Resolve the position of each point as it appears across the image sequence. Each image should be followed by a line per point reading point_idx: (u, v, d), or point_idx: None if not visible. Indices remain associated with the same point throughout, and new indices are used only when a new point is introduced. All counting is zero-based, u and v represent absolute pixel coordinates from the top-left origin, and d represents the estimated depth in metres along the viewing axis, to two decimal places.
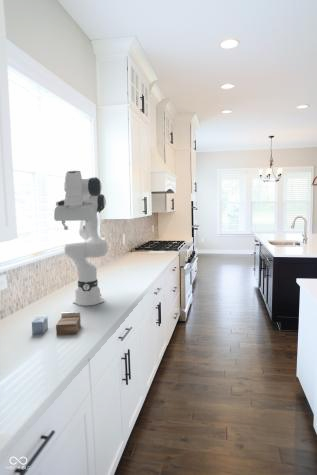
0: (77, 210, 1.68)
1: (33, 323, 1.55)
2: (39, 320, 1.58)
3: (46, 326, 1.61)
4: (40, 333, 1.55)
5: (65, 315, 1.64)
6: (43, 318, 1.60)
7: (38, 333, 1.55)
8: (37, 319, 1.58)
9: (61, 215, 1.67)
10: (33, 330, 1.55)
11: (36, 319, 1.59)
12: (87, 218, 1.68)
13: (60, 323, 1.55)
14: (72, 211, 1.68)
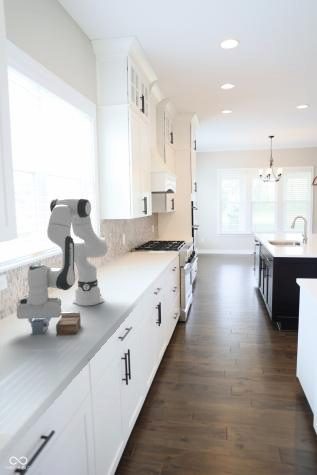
0: (41, 307, 1.56)
1: (33, 323, 1.55)
2: (39, 319, 1.57)
3: None
4: (40, 333, 1.55)
5: (65, 315, 1.64)
6: (43, 318, 1.60)
7: (38, 333, 1.55)
8: (37, 319, 1.58)
9: (24, 312, 1.56)
10: (33, 329, 1.55)
11: (36, 319, 1.59)
12: (52, 315, 1.57)
13: (60, 323, 1.55)
14: (35, 308, 1.56)
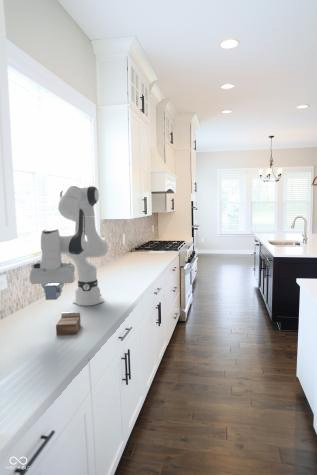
0: (55, 272, 1.55)
1: (46, 288, 1.53)
2: (52, 285, 1.56)
3: None
4: (53, 298, 1.54)
5: (65, 315, 1.64)
6: (56, 284, 1.58)
7: (51, 298, 1.54)
8: (50, 285, 1.57)
9: (37, 277, 1.55)
10: (46, 294, 1.53)
11: (49, 284, 1.57)
12: (65, 281, 1.55)
13: (60, 323, 1.55)
14: (49, 273, 1.55)
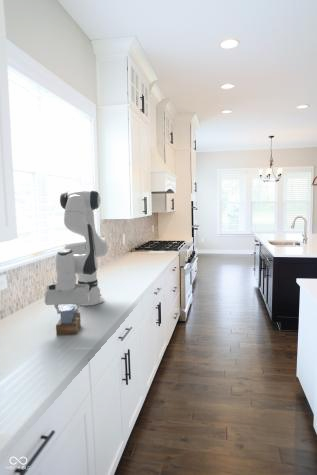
0: (69, 293, 1.56)
1: (62, 312, 1.54)
2: (67, 309, 1.57)
3: (74, 315, 1.60)
4: (69, 322, 1.55)
5: None
6: (71, 307, 1.59)
7: (67, 322, 1.55)
8: (65, 308, 1.58)
9: (52, 298, 1.55)
10: (61, 318, 1.54)
11: (64, 308, 1.58)
12: (80, 302, 1.56)
13: (60, 323, 1.55)
14: (64, 294, 1.56)
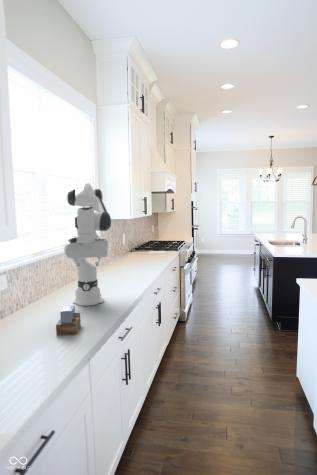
0: (90, 247, 1.65)
1: (62, 312, 1.54)
2: (67, 309, 1.57)
3: (74, 315, 1.60)
4: (69, 322, 1.55)
5: None
6: (71, 307, 1.59)
7: (67, 322, 1.55)
8: (65, 308, 1.58)
9: (73, 251, 1.65)
10: (61, 318, 1.54)
11: (64, 308, 1.58)
12: (100, 255, 1.66)
13: (60, 323, 1.55)
14: (84, 248, 1.65)
